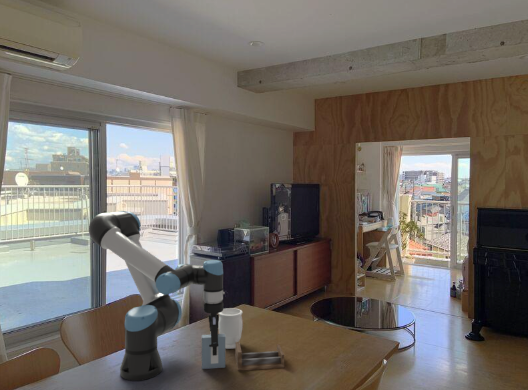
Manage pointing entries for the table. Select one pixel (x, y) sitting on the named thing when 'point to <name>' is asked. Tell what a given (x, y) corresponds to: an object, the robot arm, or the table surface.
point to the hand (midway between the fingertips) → (214, 355)
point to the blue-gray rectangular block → (207, 352)
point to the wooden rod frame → (258, 359)
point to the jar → (230, 326)
